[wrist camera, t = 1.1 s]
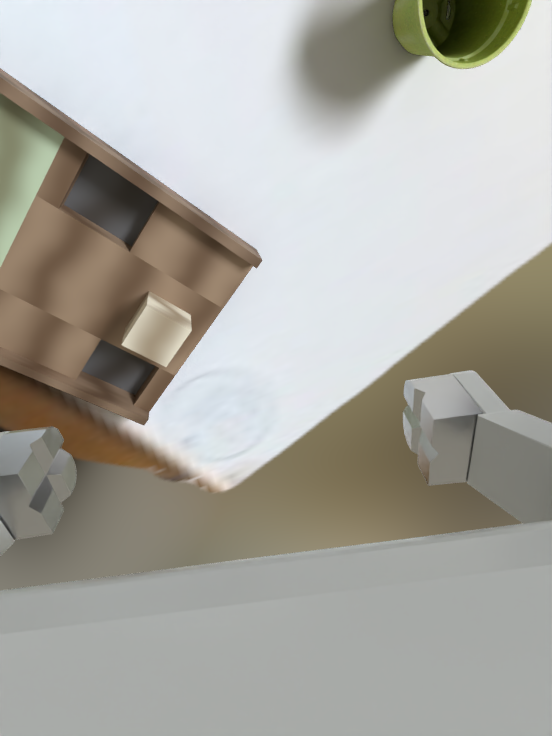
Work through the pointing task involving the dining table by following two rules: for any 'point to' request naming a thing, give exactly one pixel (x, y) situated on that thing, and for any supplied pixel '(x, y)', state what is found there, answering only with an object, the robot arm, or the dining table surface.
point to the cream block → (157, 329)
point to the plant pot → (458, 28)
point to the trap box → (97, 258)
